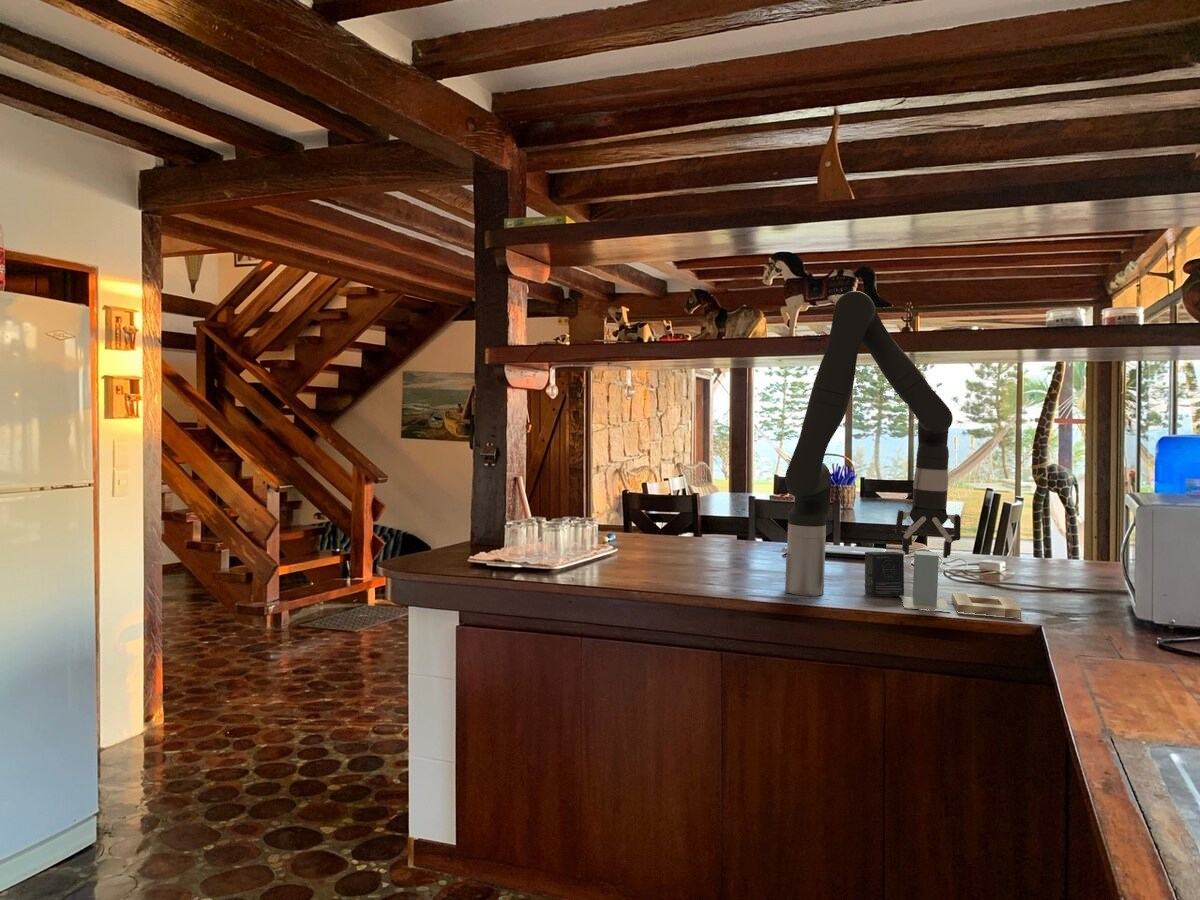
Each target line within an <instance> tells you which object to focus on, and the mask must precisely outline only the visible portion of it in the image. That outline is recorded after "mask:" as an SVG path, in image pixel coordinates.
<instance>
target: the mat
mask: <svg viewBox="0 0 1200 900" xmlns="http://www.w3.org/2000/svg"><path fill="white" fill-rule="evenodd" d="M900 597H901V598H900V599H901V603H902V602H903V603H902V606H904V607H903V609H904V608H914V609H927V610H928V609H929V610H935V609H940V608H943V607H944V608H946V607H947V608H949V609H950V607H949V605H948V602H947V601H946V599H940V598H939V599H938V598H937V607H933V606H921V605H914V604H913V596H900Z"/></svg>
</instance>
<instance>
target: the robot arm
mask: <svg viewBox="0 0 1200 900" xmlns="http://www.w3.org/2000/svg"><path fill="white" fill-rule="evenodd" d="M833 308H834V309H833V314H832V320H831V327H830V332H829V336H828V343H827V345H826V349H825V351H824V355H823V356H822V359H821V361H820V364H819V367H818V370H817V373H816V375H815V378H814V381H813V385H812V388H811V392H810V396H809V398H808V399H809V400H808V403H807V407H806V411H805V415H804V418H803V422H802V426H801V430H800V434H799V437H798V441H797V444H796V446H795V448H794V451H793V454H792V456H791V459H790V461H789V464H788V466H787V469H786V472H785V478H784V480H785V487H786V489H787V491H788V492H789V494H791V495H792V496H793V497H794V502H793V505H792V508H790V510H789V512H788V517H787V519H788V520H787V548H786V550H787V551H786V556H785V578H784V581H785V582H784V583H785V584H784V588H785V589H784V593H785V594H786V593H787V594H792V595H797V596H810V597H811V596H821V595H824V592H825V591H824V590H825V565H826V563H825V562H826V533H827V518H828V516H829V512H830V506H831V495H832V494H831V493H832V476H831V472H830V469H829V468H828V466H827V464H825V463H824V458H825V455H826V451H827V449H828V446H829V444H830V443H831V440H832V438H833V436H834V435H835V433H837V430H838V428H839V427H840V425H841V423H842V422H843V419H844V418H845V415H846V412H847V410H848V407H849V403H850V400H851V397H852V393H853V389H854V383H855V378H856V377H855V376H856V371H857V370H856V369H857V360H858V355H859V351H860V347H861V345H863V346H864V348H865V349H866V350H867V351H868V352H869V354H870V355H871V357H872V358H873V361H875V363H876V365H877V366H878V368H879V370H880V371H881V373H882V375H884V377H885V379H886V380H887V382H888V383H889V384H890V386H891V388H892V389H893V390H894V391H895V392H896V394H897V395H898V397H899V398H900V399H901V400H902V401H903V402H904V403H905V404H906V405H908V408H909V409H910V410H911V411H912V413H913V415H914V416H915V418H916V419H917V440H918V441H917V443H918V445H917V451H916V461H915V462H916V464H915V471H914V475H913V476H914V477H913V484H912V486H913V490H912V504H911V510H909V511H906V510H903V509H898V510H897V514H896V522H895V528H894V529H895V530H894V531H895V534H896V536H899V537H901V538H902V547H901V550H902V553H903V552H904V555H909V551H910V537H911V536H912V535H913V534H914V533H915V532H916V531H917V530H918V529H919V530H920V531H923V532H924V531H931V532H936V531H939V533H940V534H941V535H942V536H943V538H944V539H945V540H943V551H942V552H943V553H942V557H943V559H948V557H950V556H951V551H952V543H953V542H955V541H960V540H961V524H962V523H961V520H962V519H961V516H960V514H959V513H955V514H948V513H947V505H948V504H947V502H948V490H949V489H948V488H949V471H948V470H949V458H950V454H949V453H950V451H949V447H948V441H949V440H948V439H949V429H950V428H951V426H952V424H953V419H954V418H953V414H952V411H951V410H950V408H949V407H948V405H947V404H946V403H945V401H944V400H943V399H942V398H941V397H940V396H939V394H937V393H936V391H934V390H933V388H932V387H931V385H930V384H929V383H928V381H927V379H926V378H925V377H924V375H923V374H922V372H921V371H920V370H919V369H918V367H917V366H916V364H914V362H913V361H912V359H911V358H910V357H909V356H908V355H907V354H906V353H905V351H904V350H903V349H902V348H901V347H900V345H898V343H897V342H896V341H895V340H894V338H893V337H892V336H891V334H890V333H889V331H888V330H887V328H886V327H885V325H884V323H883V321H882V320H881V317H880V316H879V314H878V312H877V309H876V306H875V303H874V301H873V300H872V298H871V297H870V296H869V295H868V294H866V293H864V292H862V291H858V290H852V291H847V292H846V293H844V294H842V295H841V296H840V297H839V298H838V299H837V301H836V302H835V304H834V307H833ZM908 517H910V519H911V520H912V523H911V524H910V525H909V527H908V528H907V529H905V531H903V530H902V529H903V522H904V521H905V520H907V518H908ZM948 520H950V523H951V524H953V534H949V533H948V532H947V529H945V527H944V526H943V525H944V524H945V523H946V522H947V521H948Z"/></svg>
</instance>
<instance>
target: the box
mask: <svg viewBox="0 0 1200 900" xmlns="http://www.w3.org/2000/svg"><path fill="white" fill-rule="evenodd" d="M904 555H905V552H904V553H903V552H898V551H865V552H864V581H865V582H864V592H865V594H867V595H869V596H872V597H899V596H900V597H901V596H903V597H905V569H904V568H905V563H904V562H905V561H904V560H905V557H904Z"/></svg>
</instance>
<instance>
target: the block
mask: <svg viewBox="0 0 1200 900" xmlns="http://www.w3.org/2000/svg"><path fill="white" fill-rule="evenodd" d="M913 555H914V556H913V557H914V559H913V582H912V597H913V604H914V605H921V606H933V607H937V599H938V587H939V586H938V585H939V583H938V582H939V581H938V580H939V561H940V559H939V558H940V555H939V554H938V552H934V551H922V550H921V551H919V550H914V554H913Z"/></svg>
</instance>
